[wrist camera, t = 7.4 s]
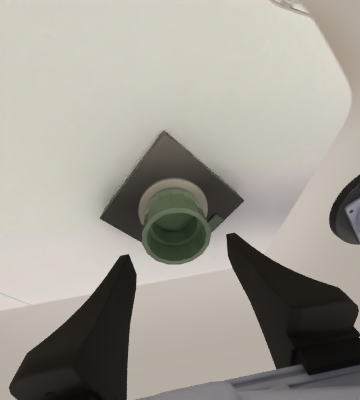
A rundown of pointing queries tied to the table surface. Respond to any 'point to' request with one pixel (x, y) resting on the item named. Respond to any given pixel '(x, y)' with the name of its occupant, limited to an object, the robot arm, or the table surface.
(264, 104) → the table surface
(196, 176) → the scale
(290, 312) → the robot arm
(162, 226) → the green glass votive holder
